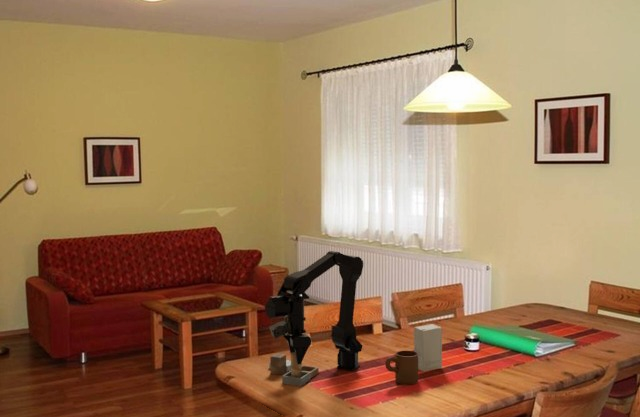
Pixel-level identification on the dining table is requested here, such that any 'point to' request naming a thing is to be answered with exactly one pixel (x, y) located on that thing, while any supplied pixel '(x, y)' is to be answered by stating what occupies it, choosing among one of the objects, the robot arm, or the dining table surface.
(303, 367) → the socket block
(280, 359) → the block
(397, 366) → the mug
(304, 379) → the tray
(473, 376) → the dining table surface
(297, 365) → the dowel
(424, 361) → the skincare box
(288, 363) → the pale grey box
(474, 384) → the dining table surface
